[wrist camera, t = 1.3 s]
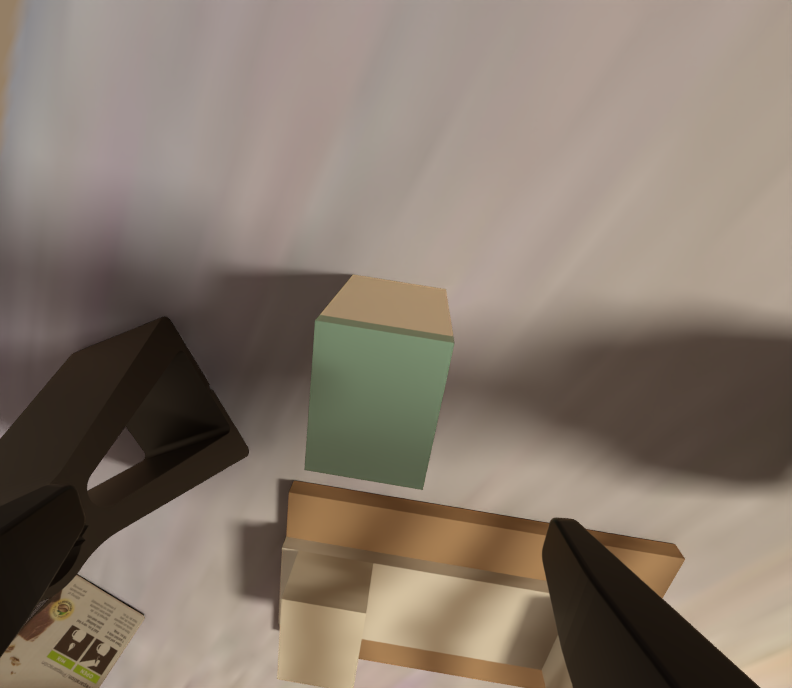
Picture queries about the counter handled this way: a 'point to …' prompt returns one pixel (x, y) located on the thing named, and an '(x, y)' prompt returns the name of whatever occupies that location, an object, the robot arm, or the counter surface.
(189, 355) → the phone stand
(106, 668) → the coffee box
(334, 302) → the block
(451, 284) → the counter surface
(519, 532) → the board
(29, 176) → the counter surface
